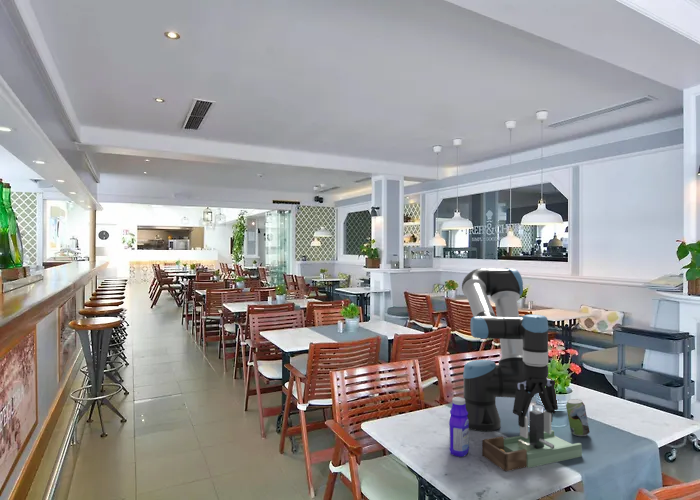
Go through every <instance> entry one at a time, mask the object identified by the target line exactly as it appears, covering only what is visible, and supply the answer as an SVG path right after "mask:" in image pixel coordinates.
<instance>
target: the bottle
mask: <svg viewBox="0 0 700 500" xmlns="http://www.w3.org/2000/svg"><path fill="white" fill-rule="evenodd" d="M451 404H452V406H451V409H450V410H449V413H450V417H449V423H448V424H449V426H448V427H449V448H448V449H449V453H450V454H451V455H452V456H455V457H459V458H460V457H461V458H462V457H466V455H467V454H468V453H469V451H470V437H469V435H470V432H469V431H470V429H469V420H468V417H467V415H468V412H467V410H466V406H465V399H464V397H461V396H460V397H459V396H455V397H453V398H452V403H451Z"/></svg>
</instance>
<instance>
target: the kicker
mask: <svg viewBox="0 0 700 500" xmlns="http://www.w3.org/2000/svg"><path fill="white" fill-rule="evenodd" d="M528 436H529V437H530V443H526V442H524V441H523V440H518V446H519V447H520V448H522V449H525V450H527V451H530V448H536V449H538V448H543V447H544V444H545V445H546V446H548V447H550V448H552V449H553V448H554V445H553V444H551V443H549V442H547V441H545V440H544V413H543V411H540V410H538V409H535V410H534V409H533V410H529V417H528Z"/></svg>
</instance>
